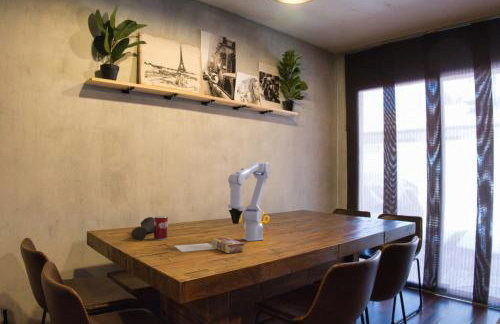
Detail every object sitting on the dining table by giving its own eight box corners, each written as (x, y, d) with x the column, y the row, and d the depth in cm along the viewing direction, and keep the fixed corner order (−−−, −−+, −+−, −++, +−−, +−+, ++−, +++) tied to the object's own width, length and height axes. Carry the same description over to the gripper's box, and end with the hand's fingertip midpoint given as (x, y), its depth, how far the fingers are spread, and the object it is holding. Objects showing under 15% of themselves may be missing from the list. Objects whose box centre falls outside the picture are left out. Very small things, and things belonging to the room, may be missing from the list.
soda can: (170, 238, 185) (170, 216, 186) (162, 240, 178) (163, 217, 179) (158, 237, 188) (159, 215, 188) (150, 239, 181) (151, 217, 181)
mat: (207, 243, 172) (207, 243, 172) (216, 248, 161) (216, 248, 161) (174, 246, 165) (174, 245, 165) (181, 252, 153) (181, 251, 153)
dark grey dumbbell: (147, 234, 206) (135, 250, 178) (139, 219, 205) (125, 233, 177) (163, 226, 206) (153, 241, 179) (155, 211, 205) (144, 223, 177)
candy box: (211, 247, 164) (227, 253, 151) (211, 238, 164) (227, 243, 151) (227, 246, 169) (244, 251, 156) (227, 237, 169) (244, 242, 156)
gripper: (223, 196, 178) (222, 222, 177) (234, 198, 165) (234, 226, 164) (235, 196, 181) (235, 221, 180) (247, 197, 168) (247, 225, 167)
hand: (235, 223), depth 173 cm, fingers closed
